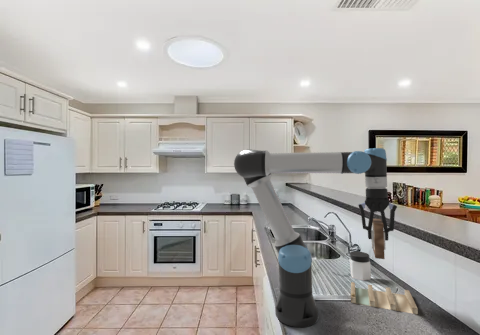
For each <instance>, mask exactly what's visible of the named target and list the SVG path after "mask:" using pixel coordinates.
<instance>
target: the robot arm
mask: <svg viewBox="0 0 480 335" xmlns="http://www.w3.org/2000/svg"><path fill="white" fill-rule="evenodd" d="M233 161H234V163H233V165H234V166H233V167H234V170H235V171H236V173H237V174H238V175H239V176H240V177H242V178H243V179H244V180H243V181H244V183H245V185H246V186H247V187H249V188H251V189H252V191H253V193H254V195H255V198H256V200H257V202H258V204H259V206H260V208H261V211H262V213H263V215H264V217H265V219H266V222H267V224H268V226H269V227H270V231H271V232H272V234H273V236H274V239H275V241H274V244H273V246H274V248H275V250H276V252H277V254H278V255H277V260H278V276H279V278H278V282H279V285H278V286H279V293H278V295H277V300H276V303H275V307H274V308H275V310H274V311H275V312H274V313H275V316H276V319H277V320H278V321H280V322H281V323H282V324H285V325H287V326H290V327H295V328H306V327H311V326H313V325H315V324H317V322H318V320H319V310H318V306H317V303H316V301H315V297H314V294H313V275H312V274H313V272H312V271H313V270H312V264H313V259H312V253H311V251H310V250H309V249H308V246H307V244H306V243H304V240H303V239H302V238H303V237H302V236H301V234H300V233H299V232H297V231H295V230H294V227H293V226H292V224H291V222H290V219H289V218H288V214H287V213H286V211H285V209H284V207H283V205H282V202H281V200H280V198H279V196H278V194H277V192H276V189H275V187H274V185H273V183H272V181H271V177H272V174H356V175H359V174H360V175H361V174H363V173H364V175H365V177H364V179H365V181H364V183H365V187H366V188H365V200H364V202H362V203H358V204H357V206H358V208H359V210H360V215H361V216H360V218H361V223H362V224H361V225H362V229H363V230H365V231H367V239H368V240H370V242H371V249H372V250H373V249H374V232H373V228H372V223H373V219H374V217H375V216H374V215H375V213H377V212H378V213H379V214H380V217H381V218H380V219H381V221H382V222H383V229H384V251H386V249H387V247H386V241H389V232H394V230H395V213H396V210H397V208H398V206H397V205H396V204H393V203H391V202H390V201H389V198H388V197H389V195H388V193H389V192H388V191H389V190H388V188H387V187H388V177H387V176H388V174H387V172H388V171H387V161H388V159H387V152H386V149H384V148H383V147H374V148H366V149H364V151H362V150H354V151H346V152H345V151H342V152H341V151H336V152H335V151H334V152H333V151H331V152H326V151H325V152H278V153H277V152H270V151H268V150H256V149H248V148H247V149H244V150H240V151H239V152H238V153H237V154H236V156H235V157H234V160H233ZM366 207H367V208H368V209H369V216H368V223H366V222H367V221H366V215H365V208H366ZM387 208H389V210H390V211H389V225H388V223H387V219H386V214H385V210H387ZM366 224H367V225H366Z"/></svg>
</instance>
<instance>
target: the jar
mask: <svg viewBox="0 0 480 335" xmlns="http://www.w3.org/2000/svg"><path fill="white" fill-rule="evenodd" d="M349 255H350V257H349V264H350V266H349V267H350V269H349V270H350V276H351V277H352V279H356V280H359V281H370V280H371V279H372V277H371V276H372V271H371V261H370V254H369V253H367V252H363V251H351V252H350V254H349Z"/></svg>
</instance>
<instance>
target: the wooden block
mask: <svg viewBox="0 0 480 335" xmlns="http://www.w3.org/2000/svg"><path fill="white" fill-rule="evenodd" d="M372 230H373V232H374V249H372V250H373V255H374V258H375V259H379V260H385V250H384V227H383V222H382V218H373V223H372Z"/></svg>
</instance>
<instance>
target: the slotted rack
mask: <svg viewBox="0 0 480 335" xmlns="http://www.w3.org/2000/svg"><path fill="white" fill-rule="evenodd" d="M373 288H374V287H373V285H372V284H367V288H362V287H361V288H360V287H356V283H355V282H352V281H351V282H350V303H351V304H357V305H361V306H366V307H367V306H368V307H373V308H379V309H385V310H389V311H397V312H402V313H408V314H413V315H418V312H419V311H418V307H417V304H416V302H415V300H414V297H413V296H412V294H411V292H410V290H408V289H404V294H401V293H394V292H392V290H391V287H385V291H381V290H374V289H373Z"/></svg>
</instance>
